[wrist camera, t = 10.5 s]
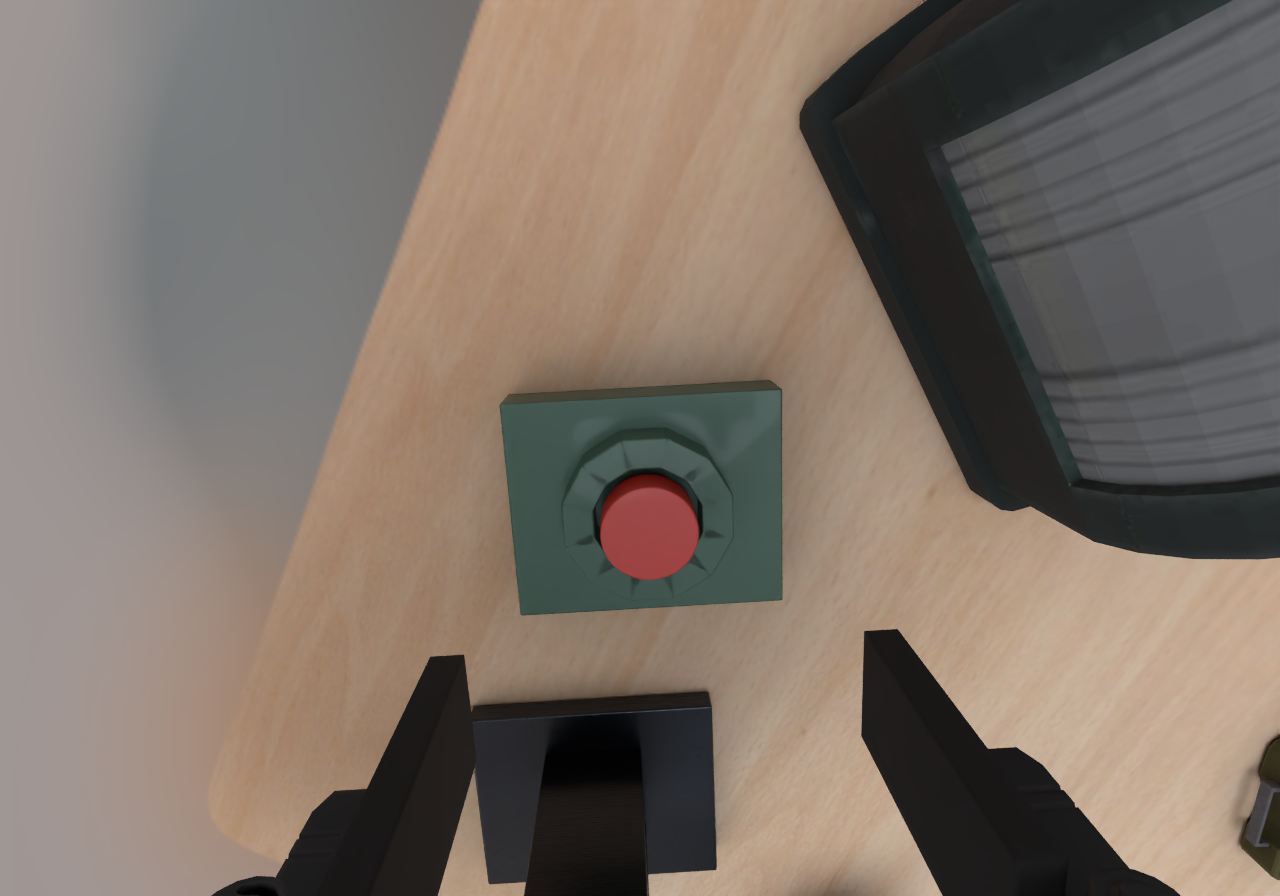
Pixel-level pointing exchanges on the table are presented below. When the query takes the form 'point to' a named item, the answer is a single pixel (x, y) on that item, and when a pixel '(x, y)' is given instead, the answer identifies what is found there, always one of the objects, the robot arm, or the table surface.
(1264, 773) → the landmine
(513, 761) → the switch bracket
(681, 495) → the button
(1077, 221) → the light fixture
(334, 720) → the table surface
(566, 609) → the button box
